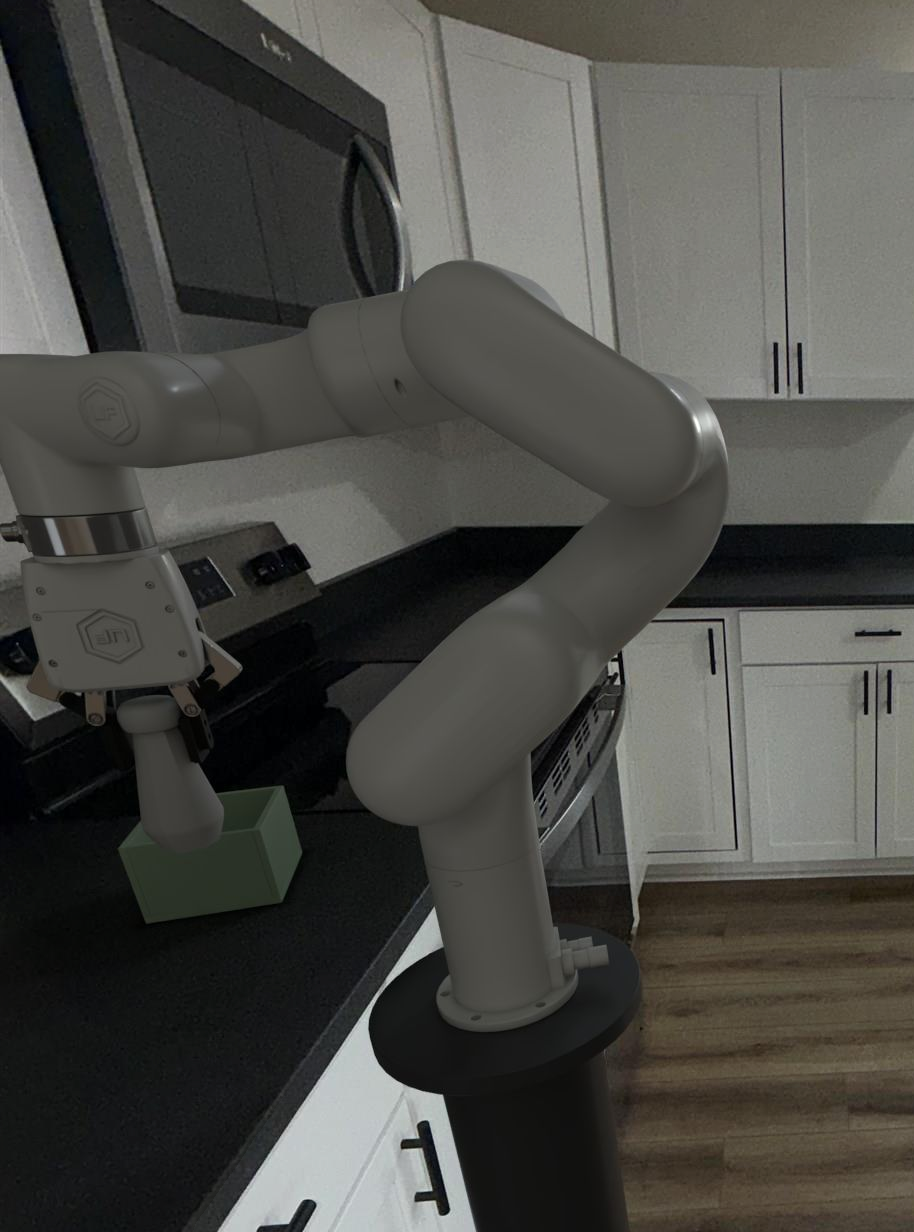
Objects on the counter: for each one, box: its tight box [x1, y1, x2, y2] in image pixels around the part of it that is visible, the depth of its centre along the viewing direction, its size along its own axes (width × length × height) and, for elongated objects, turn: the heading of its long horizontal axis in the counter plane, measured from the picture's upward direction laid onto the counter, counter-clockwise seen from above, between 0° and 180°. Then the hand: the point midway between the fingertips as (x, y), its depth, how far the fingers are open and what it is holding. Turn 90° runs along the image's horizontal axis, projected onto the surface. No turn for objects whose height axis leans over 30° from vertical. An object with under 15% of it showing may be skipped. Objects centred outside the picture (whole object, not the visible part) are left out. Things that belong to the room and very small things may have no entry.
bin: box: [117, 785, 303, 925], centre depth 101 cm, size 12×12×9 cm
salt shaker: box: [116, 694, 224, 854], centre depth 77 cm, size 6×6×13 cm
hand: (165, 759), depth 77 cm, fingers closed on salt shaker, 4 cm apart
